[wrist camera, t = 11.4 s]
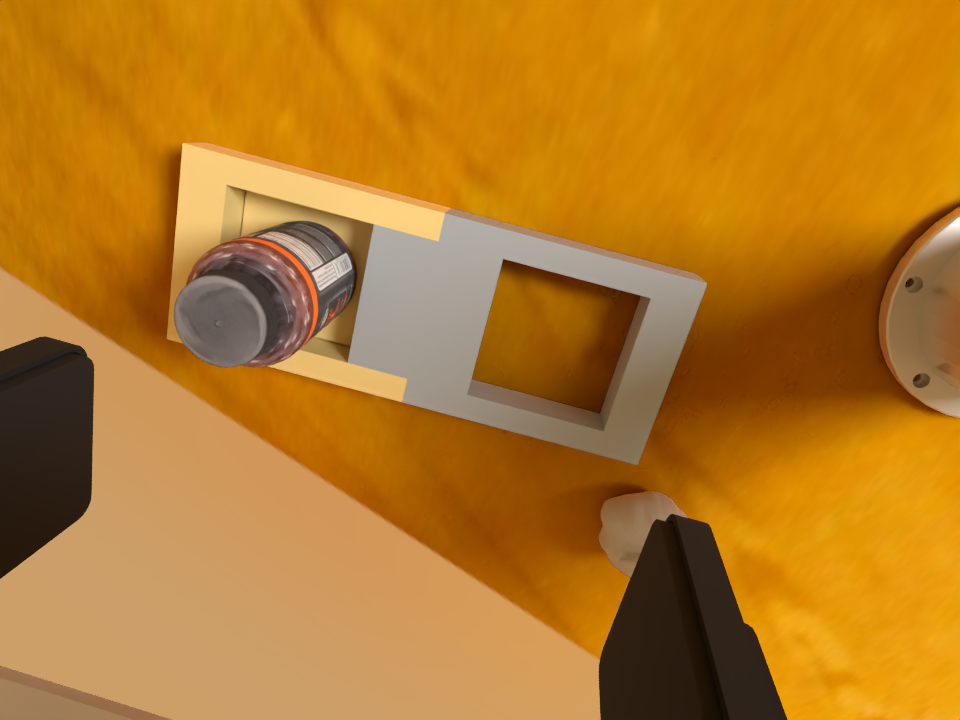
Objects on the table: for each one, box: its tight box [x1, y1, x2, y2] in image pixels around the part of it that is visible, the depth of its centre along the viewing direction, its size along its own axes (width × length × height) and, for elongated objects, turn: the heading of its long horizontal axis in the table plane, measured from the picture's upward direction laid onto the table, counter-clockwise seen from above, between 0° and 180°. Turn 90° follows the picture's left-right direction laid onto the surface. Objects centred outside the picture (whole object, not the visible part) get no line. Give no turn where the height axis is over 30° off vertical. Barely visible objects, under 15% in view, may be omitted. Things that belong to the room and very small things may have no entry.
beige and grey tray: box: [167, 143, 708, 465], centre depth 36 cm, size 28×11×2 cm, turn 76°
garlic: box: [599, 491, 688, 578], centre depth 38 cm, size 6×5×5 cm
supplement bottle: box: [174, 221, 357, 367], centre depth 31 cm, size 6×6×11 cm
